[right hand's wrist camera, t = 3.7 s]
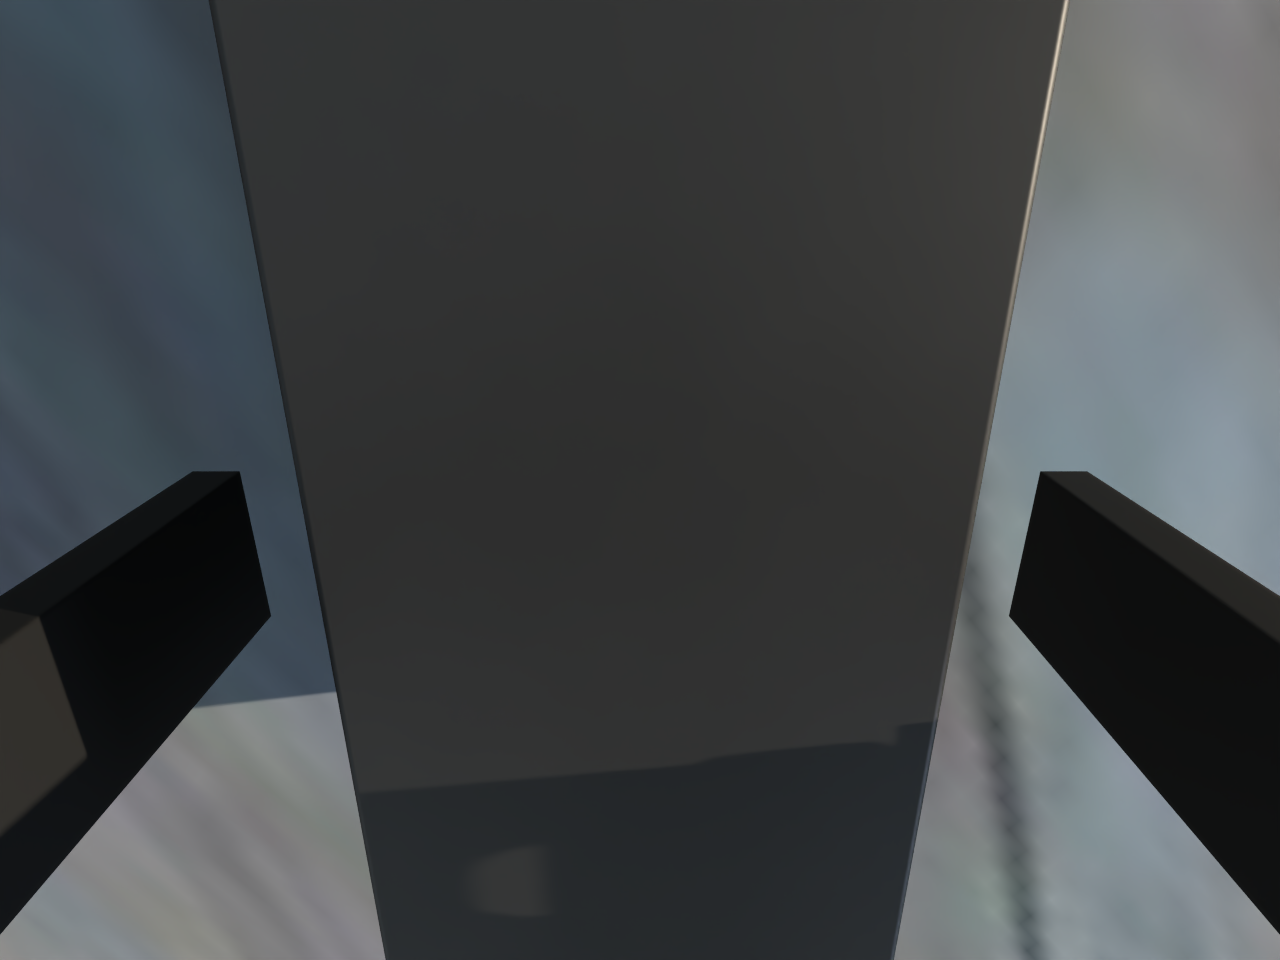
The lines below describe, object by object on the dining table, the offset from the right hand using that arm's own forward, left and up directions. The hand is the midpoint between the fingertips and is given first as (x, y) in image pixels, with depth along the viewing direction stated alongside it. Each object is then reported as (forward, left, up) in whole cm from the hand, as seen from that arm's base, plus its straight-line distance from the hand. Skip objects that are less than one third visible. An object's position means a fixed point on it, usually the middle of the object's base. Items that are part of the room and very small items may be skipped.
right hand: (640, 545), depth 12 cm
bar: (+7, +7, -3) cm, 11 cm away
